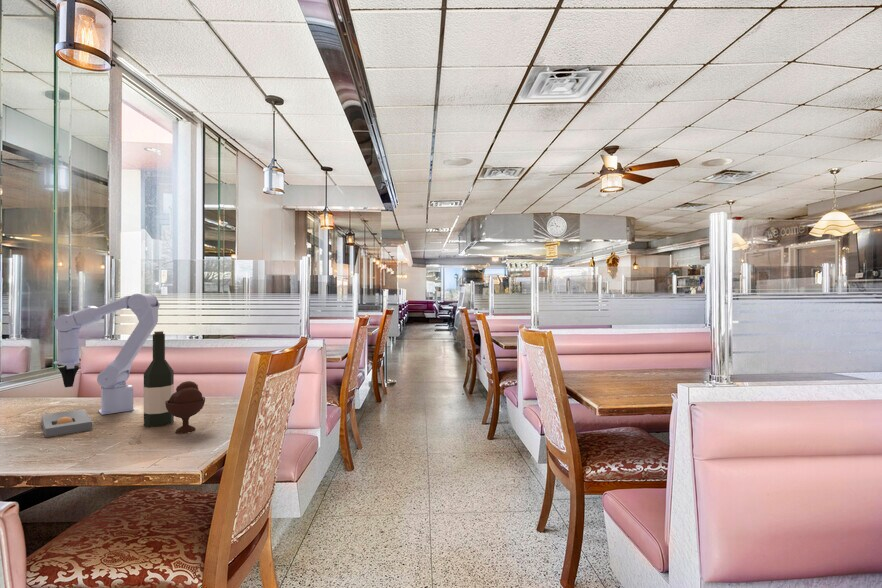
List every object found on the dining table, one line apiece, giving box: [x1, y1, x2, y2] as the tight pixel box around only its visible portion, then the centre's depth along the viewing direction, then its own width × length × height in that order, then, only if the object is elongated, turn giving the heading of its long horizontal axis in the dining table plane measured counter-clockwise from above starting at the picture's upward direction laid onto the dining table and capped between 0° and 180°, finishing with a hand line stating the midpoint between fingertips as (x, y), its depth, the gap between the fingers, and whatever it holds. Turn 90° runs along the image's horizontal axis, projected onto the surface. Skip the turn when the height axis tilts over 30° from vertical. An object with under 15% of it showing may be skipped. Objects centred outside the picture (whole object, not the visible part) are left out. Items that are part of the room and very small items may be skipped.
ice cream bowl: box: [165, 380, 206, 434], centre depth 138 cm, size 11×11×15 cm
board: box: [41, 408, 93, 438], centre depth 144 cm, size 11×22×2 cm, turn 44°
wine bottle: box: [143, 330, 175, 428], centre depth 146 cm, size 8×8×30 cm
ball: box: [56, 417, 73, 424], centre depth 140 cm, size 4×4×4 cm
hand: (68, 386), depth 160 cm, fingers closed
